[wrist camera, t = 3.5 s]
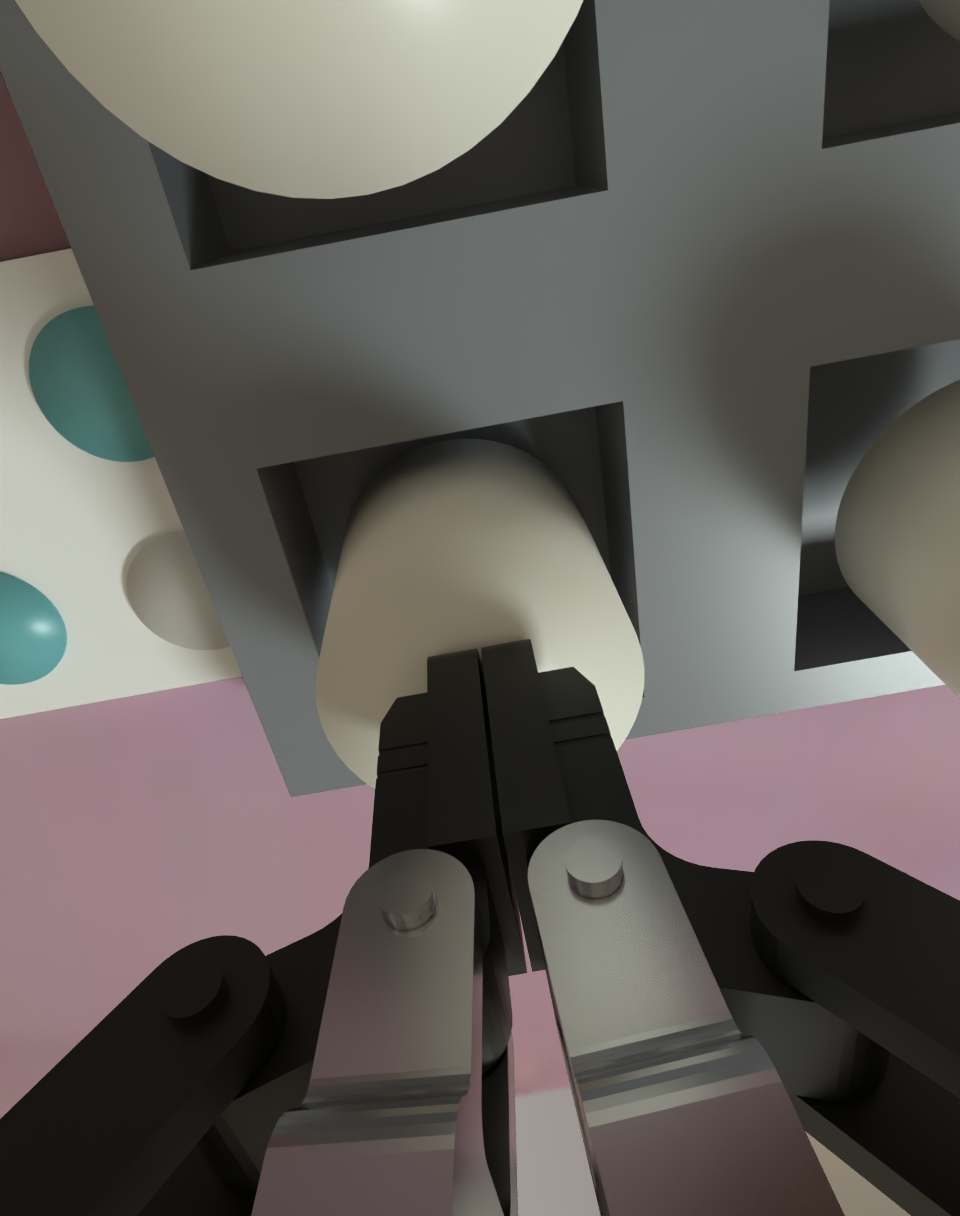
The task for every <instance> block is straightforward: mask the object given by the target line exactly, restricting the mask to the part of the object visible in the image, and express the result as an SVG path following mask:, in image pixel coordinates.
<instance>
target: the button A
mask: <svg viewBox="0 0 960 1216" xmlns="http://www.w3.org/2000/svg"><path fill="white" fill-rule="evenodd" d="M15 1H16V3H17V4H18V6H19V7H20V9H21V10H22V12H23V13H24V15H25V16H26V17H27V19H28V20H29V22H30V23H31V25H32V26H33V28H34V29H35V31H36V32H37V33H38V35H39V36H40V37H41V38H42V40H43V41H44V42H45V43H46V44H47V46H48V47H49V48H50V49H51V50H52V52H53V53H54V54H55V55H56V56H57V58H58V59H59V60H60V61H61V63H62V64H63V65H64V66H65V67H66V69H67V70H68V71H69V72H70V73H71V74H72V75H73V76H74V77H75V78H76V79H77V80H78V81H79V82H80V83H81V84H82V85H83V86H84V87H85V88H86V89H87V90H88V91H89V92H90V93H91V94H92V95H93V96H94V97H95V98H96V99H97V100H98V101H99V102H100V103H101V104H102V105H103V106H104V107H105V108H106V109H107V110H109V111H110V112H111V113H112V114H114V115H115V116H116V117H117V118H119V119H120V120H121V121H122V122H124V123H125V124H126V125H127V126H129V127H130V128H131V129H132V130H134V131H135V132H136V133H137V134H139V135H140V136H141V137H143V138H144V139H146V140H147V141H149V142H150V143H152V144H154V145H155V146H157V147H158V148H160V149H162V150H163V151H165V152H166V153H168V154H170V155H171V156H173V157H174V158H176V159H178V160H179V161H181V162H183V163H185V164H187V165H190V166H192V167H194V168H196V169H198V170H200V171H202V172H204V173H207V174H209V175H211V176H213V177H215V178H217V179H220V180H223V181H226V182H229V183H232V184H235V185H239V186H242V187H245V188H248V189H251V190H254V191H258V192H264V193H270V194H275V195H281V196H287V197H292V198H316V199H335V198H344V197H353V196H361V195H369V194H372V193H376V192H380V191H383V190H387V189H391V188H394V187H398V186H402V185H405V184H407V183H409V182H411V181H414V180H416V179H418V178H420V177H423V176H425V175H427V174H430V173H432V172H434V171H436V170H438V169H440V168H442V167H443V166H445V165H446V164H448V163H450V162H451V161H453V160H454V159H456V158H457V157H459V156H461V155H462V154H464V153H465V152H467V151H469V150H470V149H471V148H473V147H474V146H475V145H476V144H477V143H479V142H480V141H481V140H482V139H483V138H484V137H486V136H487V135H488V134H489V133H490V132H492V131H493V130H494V129H495V128H496V127H498V126H499V125H500V124H501V123H502V122H503V121H504V120H505V119H506V117H507V116H508V115H509V114H510V113H511V112H512V111H513V110H514V109H515V108H516V106H517V105H518V104H519V103H520V102H521V101H522V100H523V99H524V98H525V97H526V96H527V94H528V93H529V92H530V91H531V89H532V88H533V86H534V85H535V84H536V82H537V81H538V79H539V78H540V77H541V75H542V74H543V72H544V71H545V69H546V68H547V67H548V65H549V64H550V62H551V61H552V60H553V58H554V57H555V55H556V53H557V51H558V49H559V48H560V46H561V44H562V42H563V40H564V38H565V37H566V35H567V33H568V31H569V29H570V27H571V26H572V24H573V22H574V20H575V18H576V16H577V14H578V12H579V10H580V7H581V5H582V2H583V0H15Z"/></svg>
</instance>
